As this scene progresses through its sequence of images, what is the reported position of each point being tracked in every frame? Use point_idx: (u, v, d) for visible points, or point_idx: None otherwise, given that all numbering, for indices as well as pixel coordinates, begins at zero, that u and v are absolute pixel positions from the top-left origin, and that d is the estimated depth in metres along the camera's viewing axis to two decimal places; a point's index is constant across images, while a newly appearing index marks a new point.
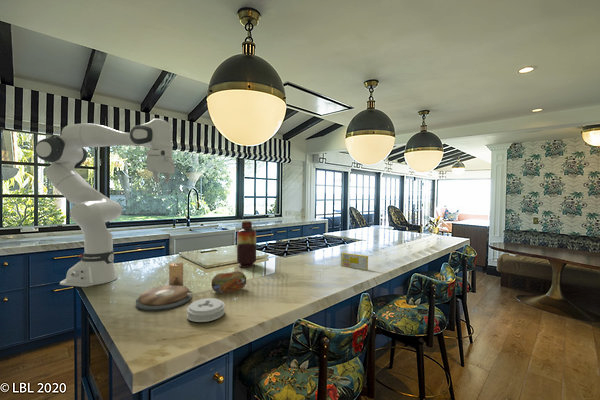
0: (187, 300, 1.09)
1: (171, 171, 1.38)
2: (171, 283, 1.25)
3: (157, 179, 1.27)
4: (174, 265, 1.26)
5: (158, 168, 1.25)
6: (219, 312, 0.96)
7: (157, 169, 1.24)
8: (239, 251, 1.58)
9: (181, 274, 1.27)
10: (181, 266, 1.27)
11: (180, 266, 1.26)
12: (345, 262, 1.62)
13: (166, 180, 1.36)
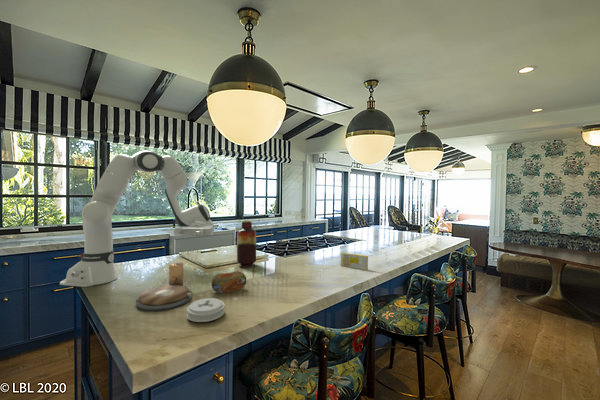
0: (187, 300, 1.09)
1: (181, 234, 1.47)
2: (171, 283, 1.25)
3: (199, 233, 1.43)
4: (174, 265, 1.26)
5: None
6: (219, 312, 0.96)
7: (207, 234, 1.47)
8: (239, 251, 1.58)
9: (181, 274, 1.27)
10: (181, 266, 1.27)
11: (180, 266, 1.26)
12: (345, 262, 1.62)
13: (181, 233, 1.42)
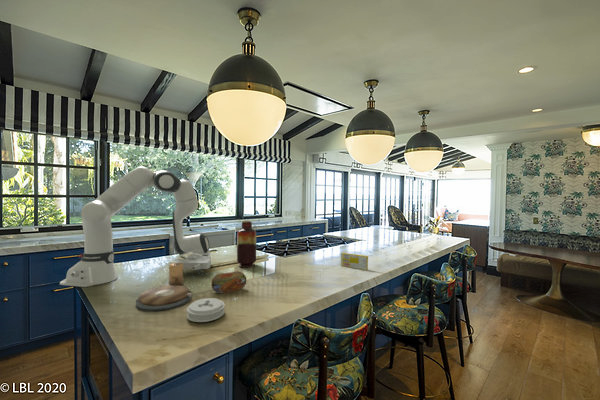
0: (187, 300, 1.09)
1: None
2: (171, 283, 1.25)
3: (196, 268, 1.39)
4: (174, 265, 1.26)
5: None
6: (219, 312, 0.96)
7: None
8: (239, 251, 1.58)
9: (181, 274, 1.27)
10: (181, 266, 1.27)
11: (180, 266, 1.26)
12: (345, 262, 1.62)
13: None
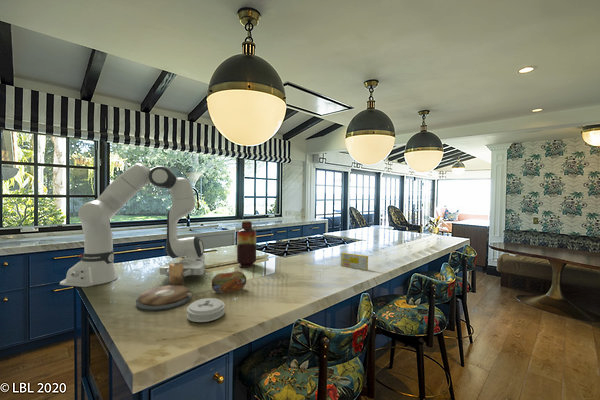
0: (187, 300, 1.09)
1: None
2: (171, 283, 1.25)
3: (185, 274, 1.28)
4: (174, 265, 1.26)
5: None
6: (219, 312, 0.96)
7: None
8: (239, 251, 1.58)
9: (181, 274, 1.27)
10: (181, 266, 1.27)
11: (180, 266, 1.26)
12: (345, 262, 1.62)
13: None
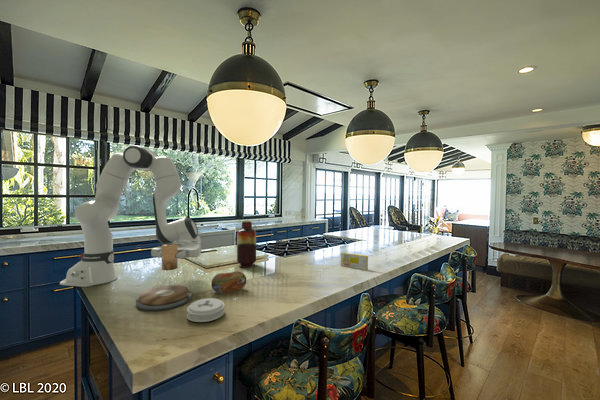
0: (187, 300, 1.09)
1: None
2: (164, 265, 1.14)
3: (180, 256, 1.17)
4: (167, 245, 1.14)
5: None
6: (219, 312, 0.96)
7: None
8: (239, 251, 1.58)
9: (175, 255, 1.15)
10: (175, 247, 1.15)
11: (174, 246, 1.15)
12: (345, 262, 1.62)
13: None
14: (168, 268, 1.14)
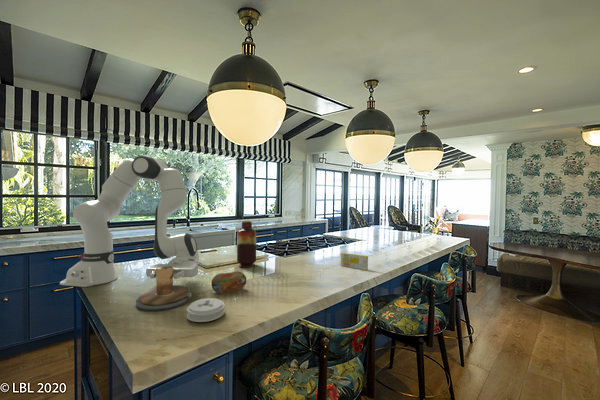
0: (187, 300, 1.09)
1: None
2: (158, 290, 1.08)
3: (178, 277, 1.11)
4: (162, 269, 1.09)
5: None
6: (219, 312, 0.96)
7: None
8: (239, 251, 1.58)
9: (170, 279, 1.10)
10: (170, 270, 1.10)
11: (169, 270, 1.09)
12: (345, 262, 1.62)
13: (155, 276, 1.11)
14: (163, 293, 1.08)
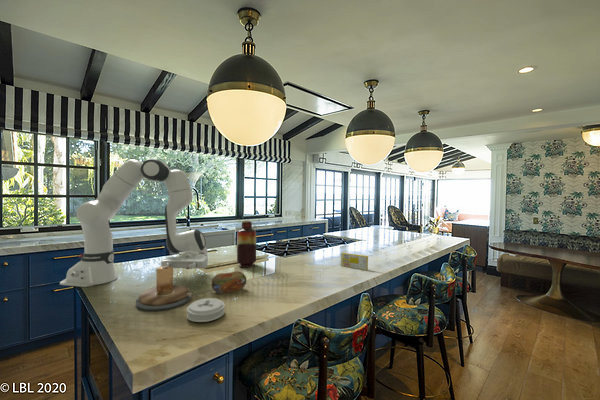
0: (187, 300, 1.09)
1: None
2: (158, 290, 1.08)
3: (190, 268, 1.24)
4: (162, 269, 1.09)
5: None
6: (219, 312, 0.96)
7: None
8: (239, 251, 1.58)
9: (170, 279, 1.10)
10: (170, 270, 1.10)
11: (169, 270, 1.09)
12: (345, 262, 1.62)
13: None
14: (163, 293, 1.08)
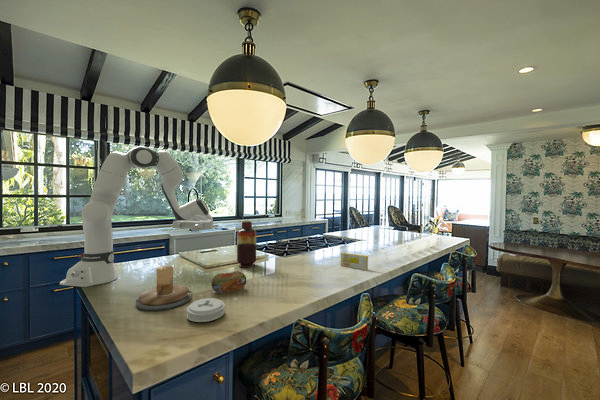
0: (187, 300, 1.09)
1: None
2: (158, 290, 1.08)
3: (198, 227, 1.42)
4: (162, 269, 1.09)
5: (205, 228, 1.47)
6: (219, 312, 0.96)
7: (206, 228, 1.46)
8: (239, 251, 1.58)
9: (170, 279, 1.10)
10: (170, 270, 1.10)
11: (169, 270, 1.09)
12: (345, 262, 1.62)
13: (180, 226, 1.41)
14: (163, 293, 1.08)
